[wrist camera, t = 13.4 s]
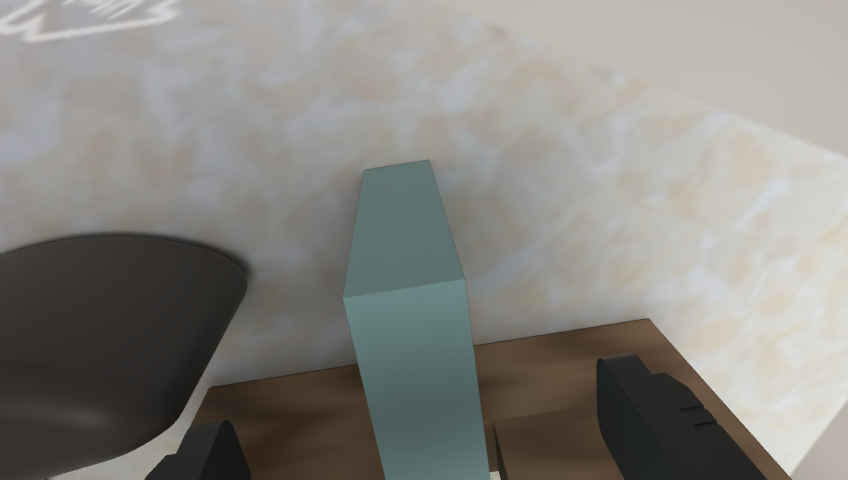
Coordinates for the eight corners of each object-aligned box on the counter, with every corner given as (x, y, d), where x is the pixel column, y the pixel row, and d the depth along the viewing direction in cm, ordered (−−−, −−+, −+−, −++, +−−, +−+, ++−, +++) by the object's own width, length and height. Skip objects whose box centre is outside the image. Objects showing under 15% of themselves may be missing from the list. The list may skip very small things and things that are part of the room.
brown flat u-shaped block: (225, 430, 24) (123, 683, 15) (209, 387, 23) (88, 630, 14) (647, 363, 24) (809, 574, 15) (648, 318, 23) (823, 514, 14)
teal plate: (434, 529, 27) (458, 785, 18) (364, 169, 20) (342, 298, 10) (480, 522, 27) (527, 773, 18) (428, 159, 20) (464, 279, 10)
